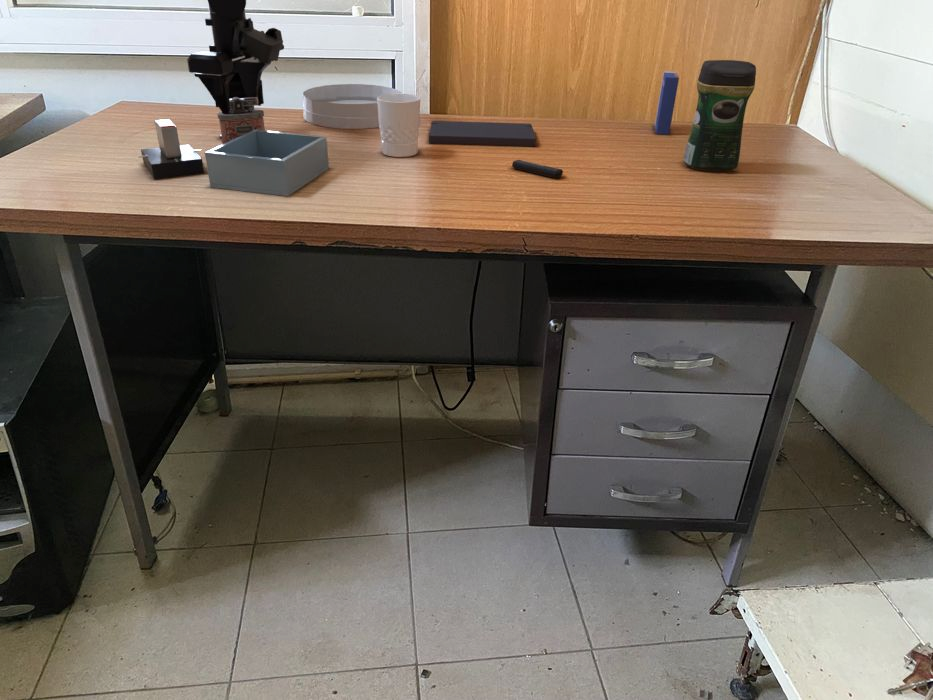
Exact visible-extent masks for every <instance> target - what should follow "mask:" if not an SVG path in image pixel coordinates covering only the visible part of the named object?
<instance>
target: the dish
mask: <svg viewBox="0 0 933 700" xmlns="http://www.w3.org/2000/svg"><path fill="white" fill-rule="evenodd" d="M392 93H402V94H403V92H402V91H401V90H398V89H396V88H393V87H388V86H384V85H378V84H377V85H376V84H365V83H364V84H363V83H342V84H341V83H339V84H328V85H327V84H326V85H320V86H315V87H311V88H308V89H306V90H304V91H303V92H302V100H303V106H302V112H303V119H304V120H305V121H306V122H308V123H310V124H312V125H315V126H319V127H324V128H331V129H342V130H343V129H344V130H365V129H376V128H379V117H378V103H377V97H378V96H380V95H384V94H392Z"/></svg>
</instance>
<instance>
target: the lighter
mask: <svg viewBox="0 0 933 700" xmlns="http://www.w3.org/2000/svg"><path fill="white" fill-rule="evenodd" d="M229 101H230V107H231V109H230V113H229V114H228V115H227V114H223V113H222V111H220V112H218V113H217V119H218V122H219V128H220V135H222V138H221V140H222V141H221V142H222V144H224V143H226V142H228V141H231V140H233V139H235V138H237V137H239V136H242V135H244V134H246V133H248V132H250V131H252V130H265V131H266V129H265V120H264V119H265V118H264V116H265V112H264V109H263V110H262V109H255V110H252V107H251V106H253V105H254V106H258V105H259V102H258V99H257V97H249V98H244V99H239V98H238V97H233V98H232V100H229ZM244 106H248V107H247V109H248V110H245V109H244Z"/></svg>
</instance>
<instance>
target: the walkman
mask: <svg viewBox="0 0 933 700" xmlns="http://www.w3.org/2000/svg"><path fill="white" fill-rule="evenodd" d="M679 81H680V76H679V73H678V72H677V71H669V70H663V74H662V80H661V85H660V92H659V97H658V103H657V109H656V116H655V122H654V130H655V135H665V136H666V135H667V136H669V135H670V132H671V127H672V120H673V114H674V109H675V103H676V98H677V92H678V87H679Z"/></svg>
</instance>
